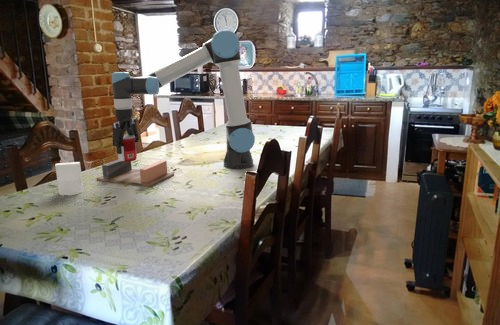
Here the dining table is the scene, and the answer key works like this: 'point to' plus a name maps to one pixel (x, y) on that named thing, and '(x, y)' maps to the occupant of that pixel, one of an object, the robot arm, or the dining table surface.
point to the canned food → (129, 148)
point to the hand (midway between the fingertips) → (127, 158)
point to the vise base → (127, 174)
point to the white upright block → (69, 178)
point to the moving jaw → (153, 171)
